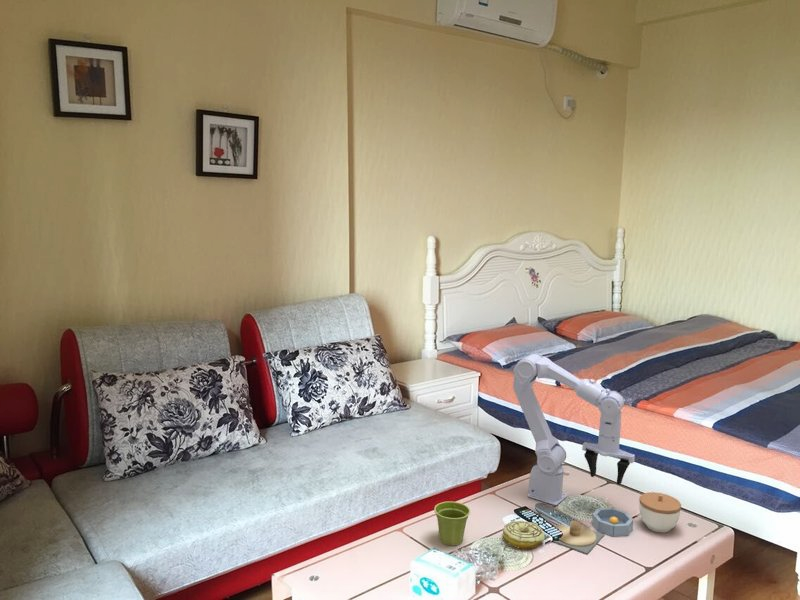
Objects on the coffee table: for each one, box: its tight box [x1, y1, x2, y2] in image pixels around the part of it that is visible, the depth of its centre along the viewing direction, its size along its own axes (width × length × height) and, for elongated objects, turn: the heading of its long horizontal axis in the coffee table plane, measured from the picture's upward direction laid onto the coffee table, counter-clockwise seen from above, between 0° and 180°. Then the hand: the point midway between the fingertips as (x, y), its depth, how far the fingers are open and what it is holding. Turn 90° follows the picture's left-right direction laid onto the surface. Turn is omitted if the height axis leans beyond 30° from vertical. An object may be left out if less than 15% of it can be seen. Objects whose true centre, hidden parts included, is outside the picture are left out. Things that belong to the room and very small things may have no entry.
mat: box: [553, 524, 605, 555], centre depth 175 cm, size 12×12×1 cm
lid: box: [555, 520, 596, 547], centre depth 175 cm, size 11×11×4 cm
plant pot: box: [433, 501, 471, 546], centre depth 172 cm, size 9×9×9 cm
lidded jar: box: [638, 491, 682, 534], centre depth 180 cm, size 11×11×9 cm
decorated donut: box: [502, 520, 546, 550], centre depth 173 cm, size 10×11×4 cm
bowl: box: [591, 507, 634, 537], centre depth 180 cm, size 10×10×3 cm
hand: (606, 479), depth 188 cm, fingers open, 7 cm apart
